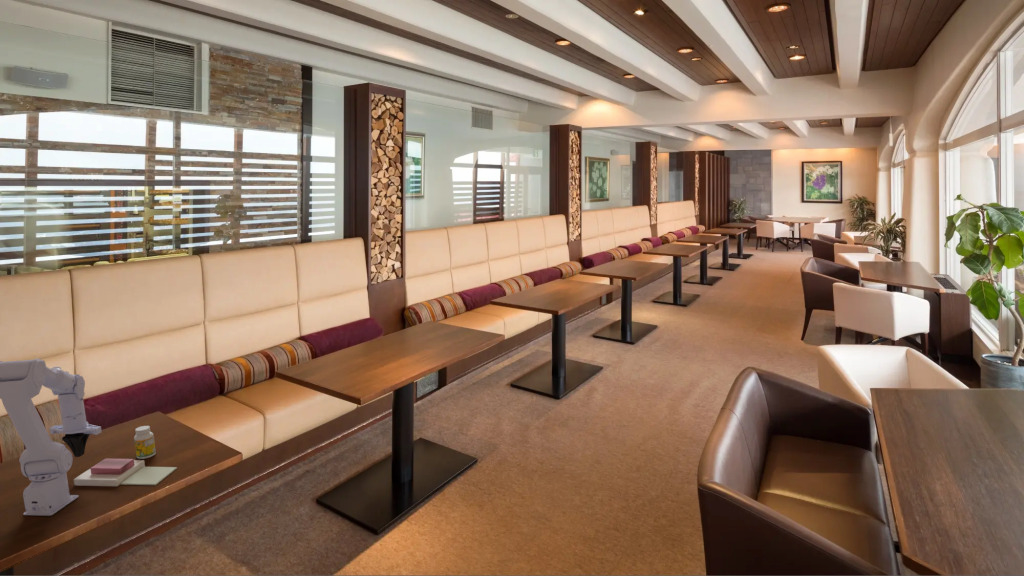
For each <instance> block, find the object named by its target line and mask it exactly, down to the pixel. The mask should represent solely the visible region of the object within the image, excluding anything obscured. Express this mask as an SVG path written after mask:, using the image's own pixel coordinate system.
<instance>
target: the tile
mask: <svg viewBox="0 0 1024 576" xmlns="http://www.w3.org/2000/svg"><path fill="white" fill-rule="evenodd" d="M134 460H135V459H134V458H103V460H101V461H99V462H98V463H96V464H95V465H93V466H91V467H90V468H89V469H91V474H104V475H121V474H122V473H124V472H125V471H127V470H128V469H129V468H131V467H132V466H134Z"/></svg>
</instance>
